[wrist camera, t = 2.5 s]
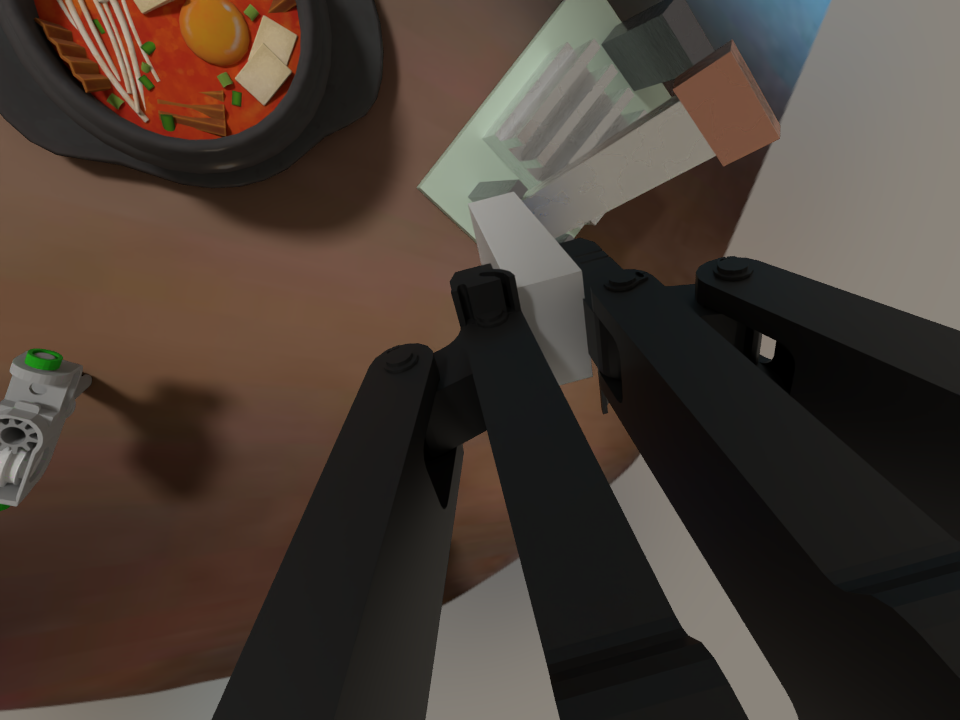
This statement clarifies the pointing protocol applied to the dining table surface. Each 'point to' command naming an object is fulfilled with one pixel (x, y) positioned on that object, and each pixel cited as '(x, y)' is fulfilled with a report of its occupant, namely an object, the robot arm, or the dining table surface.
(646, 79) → the heat sink
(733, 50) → the retention strap
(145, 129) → the casserole
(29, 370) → the mechanical component
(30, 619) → the dining table surface
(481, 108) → the circuit board
